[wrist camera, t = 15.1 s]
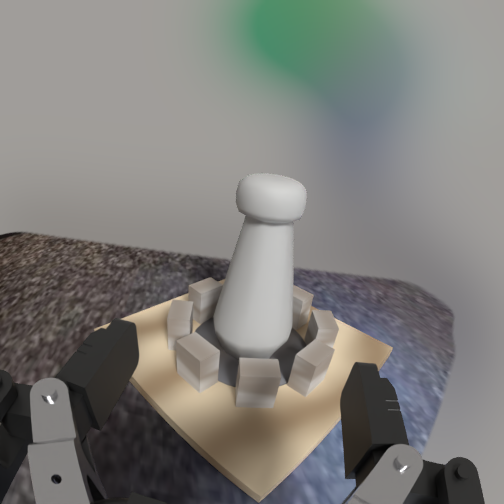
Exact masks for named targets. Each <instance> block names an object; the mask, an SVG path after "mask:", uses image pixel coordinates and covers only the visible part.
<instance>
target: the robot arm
mask: <svg viewBox="0 0 504 504" xmlns="http://www.w3.org/2000/svg"><path fill="white" fill-rule="evenodd" d="M138 362H139V347H138V338H137V329H136V325H135V323H134V322H130V321H126V320H122V319H118V318H115V319H114V320H113V321H112V322H111V323H110V324H109V326H108V327H107V328H106V329H104V328H100V329H98V330H96V331H95V332H93V333H91V334H90V335H89V336H88V337H87V338H86V340H85V341H84V342H83V345H81V346H80V347H79V348H78V349H77V352H75V353H74V354H73V356H72V357H71V358H70V359H69V361H68V362H67V363H66V364H65V366H64V367H63V368H62V369H61V371H60V372H59V373H58V374H57V376H56V377H55V378H45V379H42V380H40V381H38V382H37V383H35V384H34V385H33V386H32V385H25V384H18V383H14V382H13V379H12V377H11V375H10V374H9V373H8V372H6V371H4V370H0V422H1V425H0V504H1V503H2V501H3V499H4V497H5V495H6V493H7V491H8V489H9V487H10V485H11V483H12V481H13V479H14V477H15V475H16V473H17V471H18V469H19V467H20V466H21V464H22V462H23V460H24V458H25V456H26V455H27V453H28V457H29V465H30V472H31V479H32V485H33V490H34V495H35V500H36V504H168V503H166V502H163V501H159V500H156V499H153V498H150V497H146V496H143V495H140V494H137V493H134V492H131V494H130V497H129V498H108V497H107V494H106V492H105V489H104V487H103V485H102V483H101V480H100V478H99V475H98V472H97V468H96V465H95V461H94V458H93V454H92V451H91V447H90V443H89V439H88V435H87V432H88V431H89V429H90V427H93V428H95V429H98V430H100V431H101V430H102V428H103V426H104V424H105V422H106V421H107V419H108V417H109V415H110V413H111V412H112V410H113V408H114V406H115V405H116V403H117V401H118V399H119V397H120V396H121V394H122V392H123V390H124V389H125V387H126V385H127V383H128V382H129V380H130V378H131V377H132V375H133V373H134V371H135V370H136V368H137V365H138ZM397 400H398V399H397V395H396V392H395V388H394V387H393V386H392V384H391V383H390V382H389V380H388V379H387V378H380V375H379V371H378V367H377V365H376V364H375V363H363V362H355V363H354V365H353V367H352V369H351V372H350V374H349V376H348V379H347V381H346V383H345V386H344V388H343V390H342V393H341V398H340V411H341V423H342V435H343V448H344V464H345V479H356V487H355V488H354V489H353V490H352V491H351V493H350V494H349V495H348V496H347V497H346V499H345V500H344V501H343V502H342V503H341V504H485V503H484V498H483V493H482V489H481V484H480V480H479V476H478V472H477V469H476V467H475V465H474V464H473V463H472V462H471V461H470V460H468V459H466V458H462V457H457V458H453V459H451V460H450V461H449V462H448V463H447V464H446V465H443V464H437V463H433V462H429V461H425V460H423V459H422V457H421V455H420V453H419V452H418V451H417V450H416V449H415V448H413V447H411V446H409V443H408V439H407V435H406V430H405V426H404V422H403V418H402V414H401V411H400V406H399V403H398V402H397Z"/></svg>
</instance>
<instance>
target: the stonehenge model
mask: <svg viewBox="0 0 504 504" xmlns="http://www.w3.org/2000/svg"><path fill="white" fill-rule="evenodd" d="M224 281H225V279H224V280H221V281H219V282H218V281H216V280H214V279H213V278H211V277H210V278H207V279H205V280H202V281H199V282H197V283H194V284H191V285H189V293H188V294H185V295H183V296H180V297H177V298H175V299H172V300H170V301H167V302H164V303H162V304H159V305H157V306H154V307H151V308H149V309H146V310H143V311H141V312H138V313H136V314H133V315H130V316H128V317H125V318H122V320H126V321H130V322H134V323H135V325H136V329H137V338H138V347H139V362H138V365H137V368H136V370H135V371H134V373H133V375H132V377H131V378H130V380H129V381H130V382H131V383H132V384H133V385H134V387H135V388H136V389H137V390H138V391H139V392H140V393H141V395H142V396H143V397H144V398H145V399H146V400H147V401H148V402H149V403H150V405H151V406H152V407H153V408H154V409H155V410H156V411H157V412H158V413H159V414H160V415H161V416H162V417H163V418H164V419H165V421H166V422H167V423H168V424H169V425H170V426H171V427H172V428H173V429H174V430H175V431H176V432H177V433H178V434H179V435H180V436H181V437H182V438H183V439H184V440H185V441H187V442H188V443H189V444H190V445H191V446H192V447H193V448H194V449H195V450H196V451H197V452H198V453H199V454H200V455H201V456H203V457H204V458H205V459H206V460H207V461H208V462H209V463H210V464H211V465H213V466H214V467H215V468H216V469H217V470H218V471H220V472H221V473H222V474H223V475H224V476H225V477H227V478H228V479H229V480H230V481H231V482H233V483H234V484H235V485H236V486H238V487H239V488H240V489H241V490H243V491H244V492H245V493H246V494H248V495H249V496H250V497H252V498H253V499H254V500H256V501H257V502H258V503H259V502H260V501H261V500H262V499H264V498H265V497H266V496H267V495H268V494H269V493H270V492H271V491H272V490H274V489H275V488H276V487H277V486H278V485H279V484H280V483H281V482H282V481H283V480H284V479H285V478H286V477H287V476H288V475H289V474H290V473H291V472H292V471H293V470H294V469H295V468H296V467H297V466H298V465H299V464H300V463H301V462H302V461H303V460H304V459H305V458H306V457H307V456H308V455H309V454H310V453H311V452H312V451H313V450H314V449H315V448H316V447H317V445H318V444H319V443H320V442H321V441H322V440H323V439H324V438H325V437H326V436H327V434H328V433H329V432H330V431H331V430H332V429H333V428H334V426H335V425H336V424H337V423H338V422H339V421H340V419H341V411H340V398H341V393H342V390H343V388H344V386H345V383H346V381H347V379H348V376H349V374H350V372H351V369H352V367H353V365H354V363H355V362H363V363H375V364H376V365H377V367H378V371H379V370H380V368H381V367H382V366H383V364H384V363H385V361H386V360H387V358H388V357H389V355H390V353H391V351H392V349H393V348H392V347H390V346H388V345H386V344H384V343H382V342H380V341H378V340H376V339H374V338H373V337H371V336H369V335H367V334H365V333H363V332H361V331H359V330H357V329H355V328H353V327H351V326H349V325H347V324H345V323H343V322H341V321H339V320H337V319H335V318H334V316H333V314H332V312H331V311H322V310H318V309H316V308H314V307H312V306H311V303H312V299H313V294H311V293H309V292H307V291H305V290H303V289H301V288H299V287H297V286H295V285H293V323H292V329H291V332H290V335H289V338H288V340H287V342H285V343H284V344H283V345H282V346H281V347H280V348H279V349H278V350H277V351H275V352H274V353H273V354H272V355H271V356H270V358H269V359H259V358H241V357H240V358H239V361H238V360H237V359H235V358H234V357H232V356H231V355H230V354H228V353H227V352H225V351H224V349H223V347H222V345H221V343H220V341H219V339H218V337H217V335H216V333H215V326H214V317H213V316H214V313H215V310H216V306H217V303H218V300H219V297H220V294H221V291H222V288H223V284H224ZM109 324H110V323H109ZM109 324H106V325H104V326H101V327H98V328H96V329H94V331H96V330H98V329H100V328H104V329H106V328H107V327H108V326H109Z"/></svg>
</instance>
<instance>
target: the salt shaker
mask: <svg viewBox="0 0 504 504" xmlns="http://www.w3.org/2000/svg"><path fill="white" fill-rule="evenodd" d="M306 193H307V192H306V189H305V188H304V186H303V185H302V184H301V183H300V182H298V181H296V180H294V179H292V178H289V177H286V176H281V175H275V174H265V173H259V174H251V175H248V176H246V177H245V178H243V179H242V180H241V181H240V182H239V185H238V188H237V191H236V204H237V207H238V210H239V212H241V213H243V214H244V215H246V216H245V220H244V223H243V226H242V229H241V232H240V235H239V238H238V241H237V244H236V247H235V251H234V253H233V257H232V260H231V263H230V266H229V269H228V272H227V275H226V278H225V281H224V284H223V288H222V291H221V294H220V297H219V300H218V303H217V306H216V310H215V313H214V316H213V317H214V326H215V333H216V335H217V337H218V339H219V341H220V343H221V345H222V347H223V349H224V351H225V352H227V353H228V354H230V355H231V356H232V357H234V358H235V359H237V360H238V361H239V358H240V357H241V358H259V359H269V358H270V356H271V355H272V354H273V353H274V352H275V351H277V350H278V349H279V348H280V347H281V346H282V345H283V344H284V343H285V342H287V340H288V338H289V335H290V332H291V329H292V323H293V242H294V240H293V221H296V220H299V219H300V218H301V216H302V214H303V212H304V210H305V206H306V201H307V198H306V196H307V194H306Z"/></svg>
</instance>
